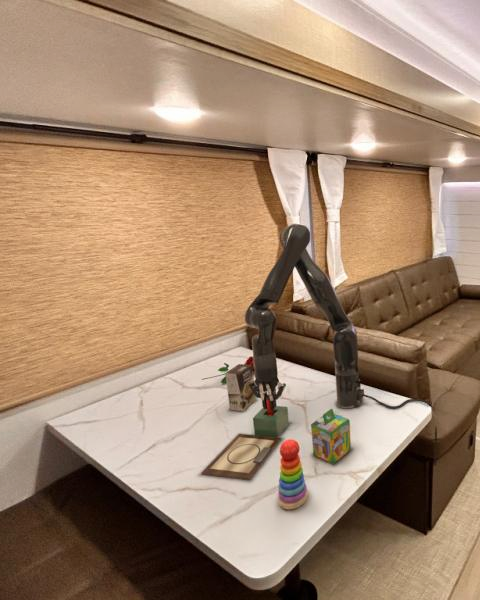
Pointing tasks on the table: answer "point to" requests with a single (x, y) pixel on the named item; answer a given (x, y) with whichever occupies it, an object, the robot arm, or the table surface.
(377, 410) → the table surface
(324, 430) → the chalk box
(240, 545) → the table surface
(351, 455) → the table surface
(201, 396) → the table surface
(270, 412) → the marker
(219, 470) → the clipboard
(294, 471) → the stacking toy
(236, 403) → the coffee box
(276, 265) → the robot arm
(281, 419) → the pen holder
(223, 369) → the flower
